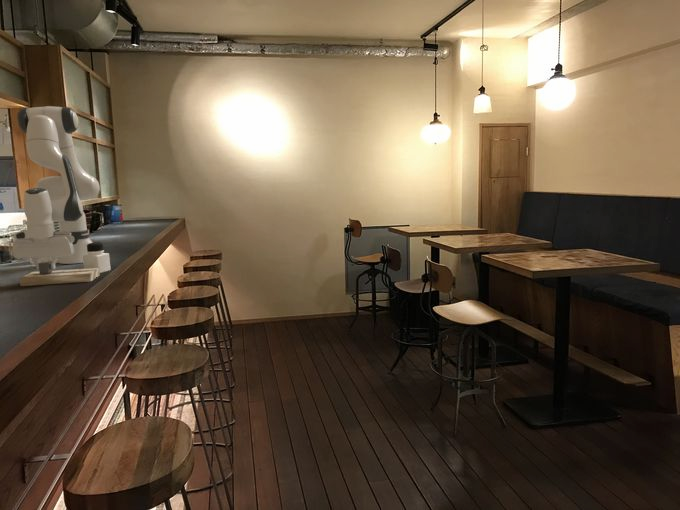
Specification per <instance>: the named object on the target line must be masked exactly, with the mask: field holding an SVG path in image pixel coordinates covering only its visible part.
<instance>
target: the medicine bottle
mask: <svg viewBox="0 0 680 510" xmlns="http://www.w3.org/2000/svg"><path fill="white" fill-rule="evenodd" d="M92 242H93V243H88V244H87V245H86V246H87V253H88V255H84V256H83V269H84V268H99V270H100V274H102V273H105V272H108V271H109V272H110V271H111V270H112V269H111V259H110V253H108V252H105V250H104V244H103V242H100V241H97V242H96V241H95V242H94V241H92Z"/></svg>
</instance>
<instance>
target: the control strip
mask: <svg viewBox="0 0 680 510" xmlns="http://www.w3.org/2000/svg"><path fill="white" fill-rule="evenodd" d="M100 275H101V273H100V270H99V268H84V267H83V268H70V269H69V268H68V269H53V271H52V272H50V273H48V274H40V272H39V270H37V271H36V270H35V271H31V272H30V273H29V272H28V273H27V274H25V275H23V276H21V277H19V283H20V287H27V286H40V285H41V286H42V285H54V284H55V285H57V284H59V285H60V284H71V283H72V284H74V283H85V282H86V283H89V282H92V281H94V280H95V279H97V278H98V277H99V276H100ZM96 277H97V278H96Z"/></svg>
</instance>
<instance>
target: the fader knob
mask: <svg viewBox="0 0 680 510" xmlns="http://www.w3.org/2000/svg"><path fill="white" fill-rule="evenodd" d="M49 264H52V261H43V262H40V263H38V265H39V270H38V271H39V272H40V274H48V273H50V272H52V271H53V270H54V269H50V268H49V267H50V266H49Z"/></svg>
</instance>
